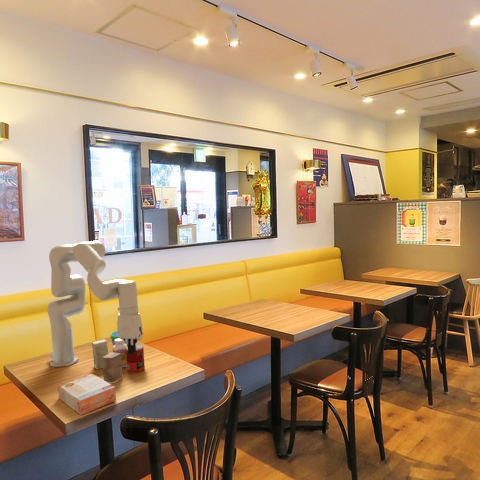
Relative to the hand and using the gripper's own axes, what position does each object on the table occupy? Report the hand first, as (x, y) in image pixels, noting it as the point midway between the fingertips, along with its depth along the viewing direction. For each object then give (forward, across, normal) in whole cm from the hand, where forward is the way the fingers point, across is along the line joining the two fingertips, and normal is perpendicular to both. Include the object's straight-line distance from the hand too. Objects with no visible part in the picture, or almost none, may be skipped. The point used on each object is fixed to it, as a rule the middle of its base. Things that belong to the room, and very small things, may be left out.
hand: (132, 353), depth 168 cm
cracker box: (+10, -18, -14) cm, 25 cm away
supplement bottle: (+13, -18, +14) cm, 26 cm away
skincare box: (+13, -27, +11) cm, 32 cm away
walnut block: (+13, -11, 0) cm, 17 cm away
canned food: (+13, -8, +12) cm, 19 cm away
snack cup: (+12, -30, +30) cm, 44 cm away
